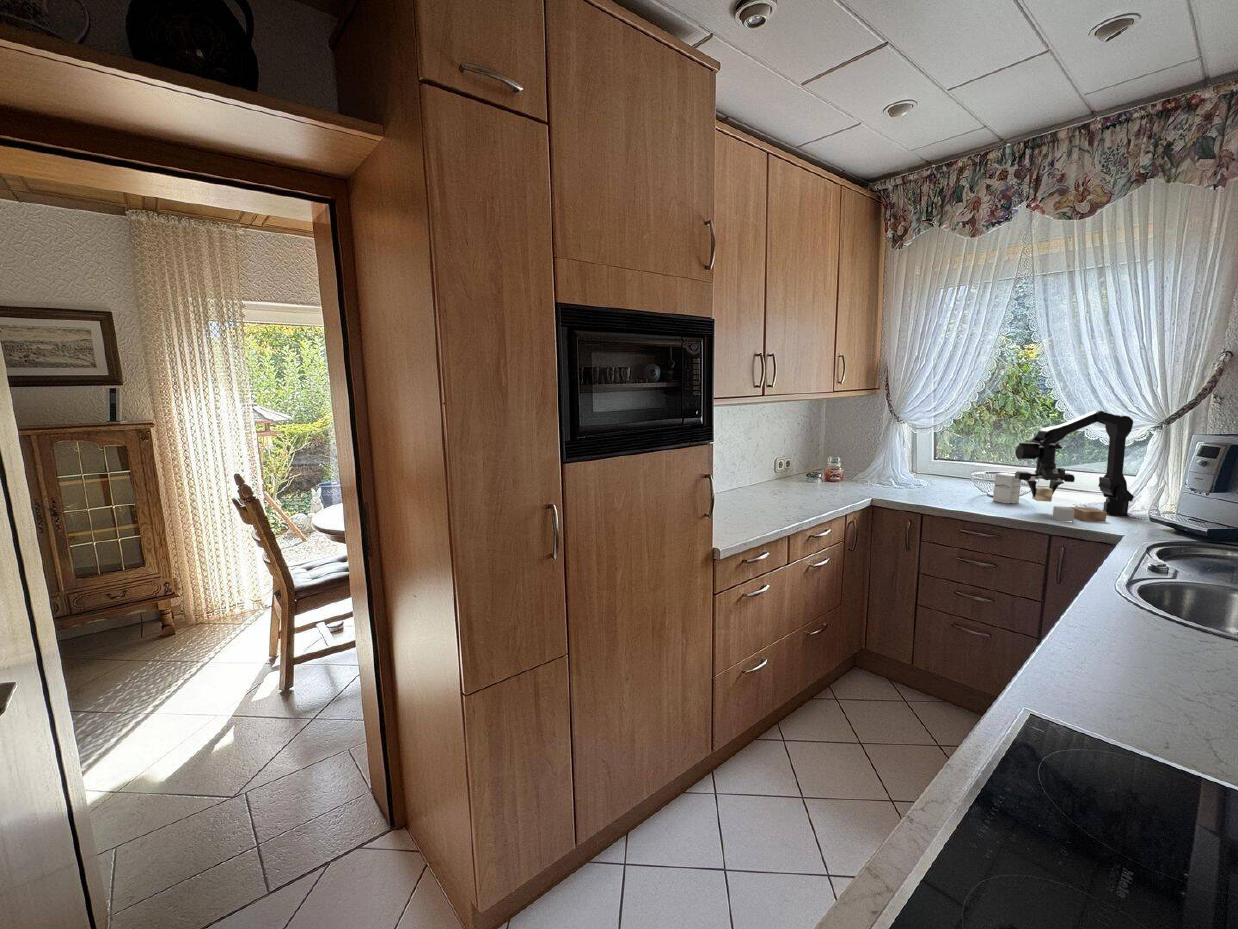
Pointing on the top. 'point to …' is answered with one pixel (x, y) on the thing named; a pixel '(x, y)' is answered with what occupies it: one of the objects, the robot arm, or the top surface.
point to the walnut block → (1089, 514)
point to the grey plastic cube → (1063, 513)
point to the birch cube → (1043, 494)
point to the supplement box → (1006, 488)
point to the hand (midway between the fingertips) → (1041, 497)
